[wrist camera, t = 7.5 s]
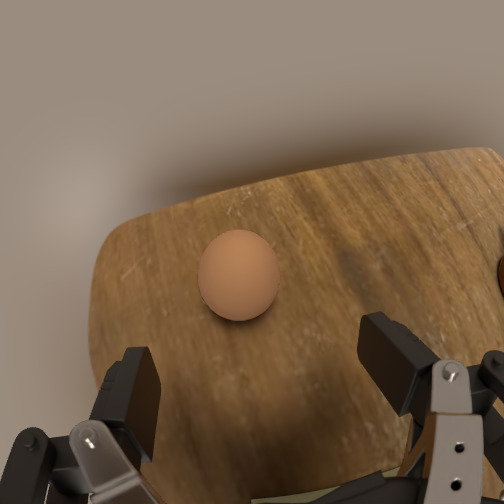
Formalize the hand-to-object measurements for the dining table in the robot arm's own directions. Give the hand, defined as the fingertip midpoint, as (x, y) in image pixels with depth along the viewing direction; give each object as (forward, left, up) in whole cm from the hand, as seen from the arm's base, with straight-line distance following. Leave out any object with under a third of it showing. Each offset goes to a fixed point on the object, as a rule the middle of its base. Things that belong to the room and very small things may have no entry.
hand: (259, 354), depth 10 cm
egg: (0, +6, -10) cm, 12 cm away
